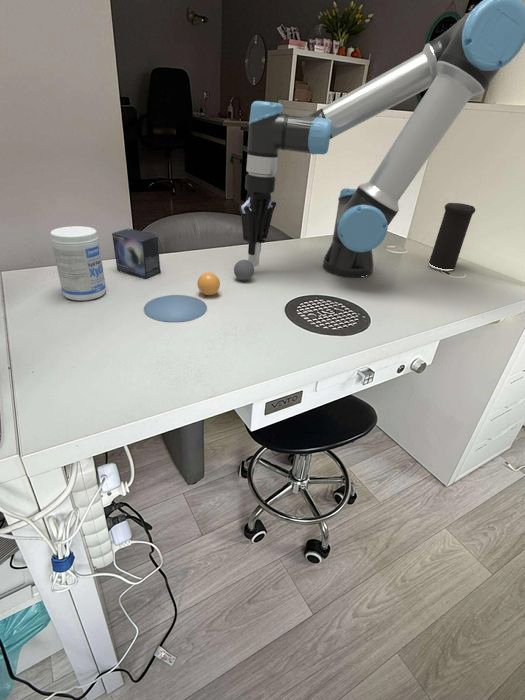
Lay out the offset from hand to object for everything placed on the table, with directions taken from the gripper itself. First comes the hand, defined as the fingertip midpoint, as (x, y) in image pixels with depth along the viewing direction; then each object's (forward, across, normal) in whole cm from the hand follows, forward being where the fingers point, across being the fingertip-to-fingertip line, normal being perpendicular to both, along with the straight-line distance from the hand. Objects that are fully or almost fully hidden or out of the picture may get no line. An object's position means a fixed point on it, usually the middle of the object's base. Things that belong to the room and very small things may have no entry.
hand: (253, 264), depth 110 cm
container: (+1, -51, +38) cm, 64 cm away
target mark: (+3, +30, +2) cm, 31 cm away
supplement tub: (+4, +40, -18) cm, 44 cm away
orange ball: (0, +20, +2) cm, 20 cm away
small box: (+4, +22, -22) cm, 32 cm away
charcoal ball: (0, +6, +1) cm, 6 cm away
